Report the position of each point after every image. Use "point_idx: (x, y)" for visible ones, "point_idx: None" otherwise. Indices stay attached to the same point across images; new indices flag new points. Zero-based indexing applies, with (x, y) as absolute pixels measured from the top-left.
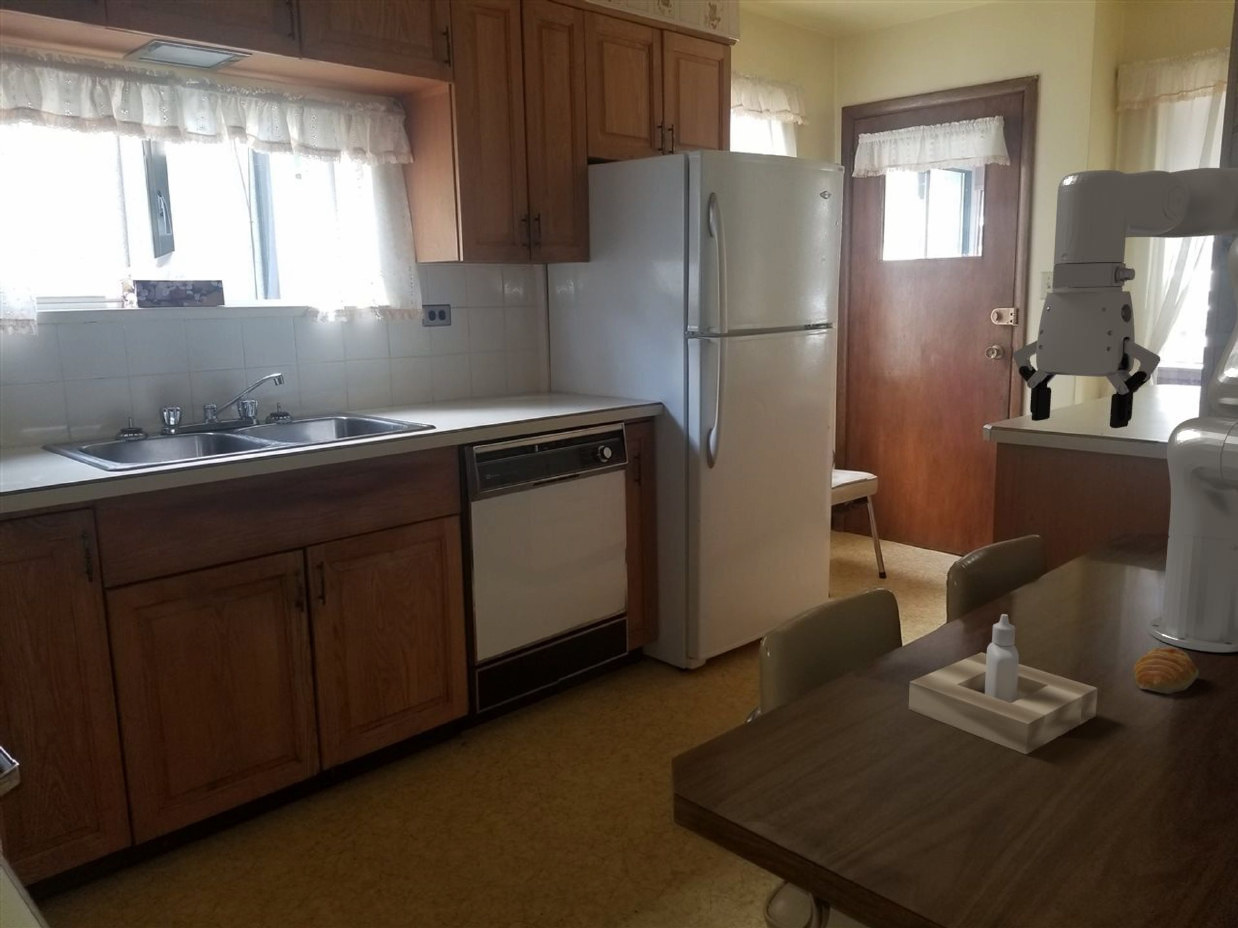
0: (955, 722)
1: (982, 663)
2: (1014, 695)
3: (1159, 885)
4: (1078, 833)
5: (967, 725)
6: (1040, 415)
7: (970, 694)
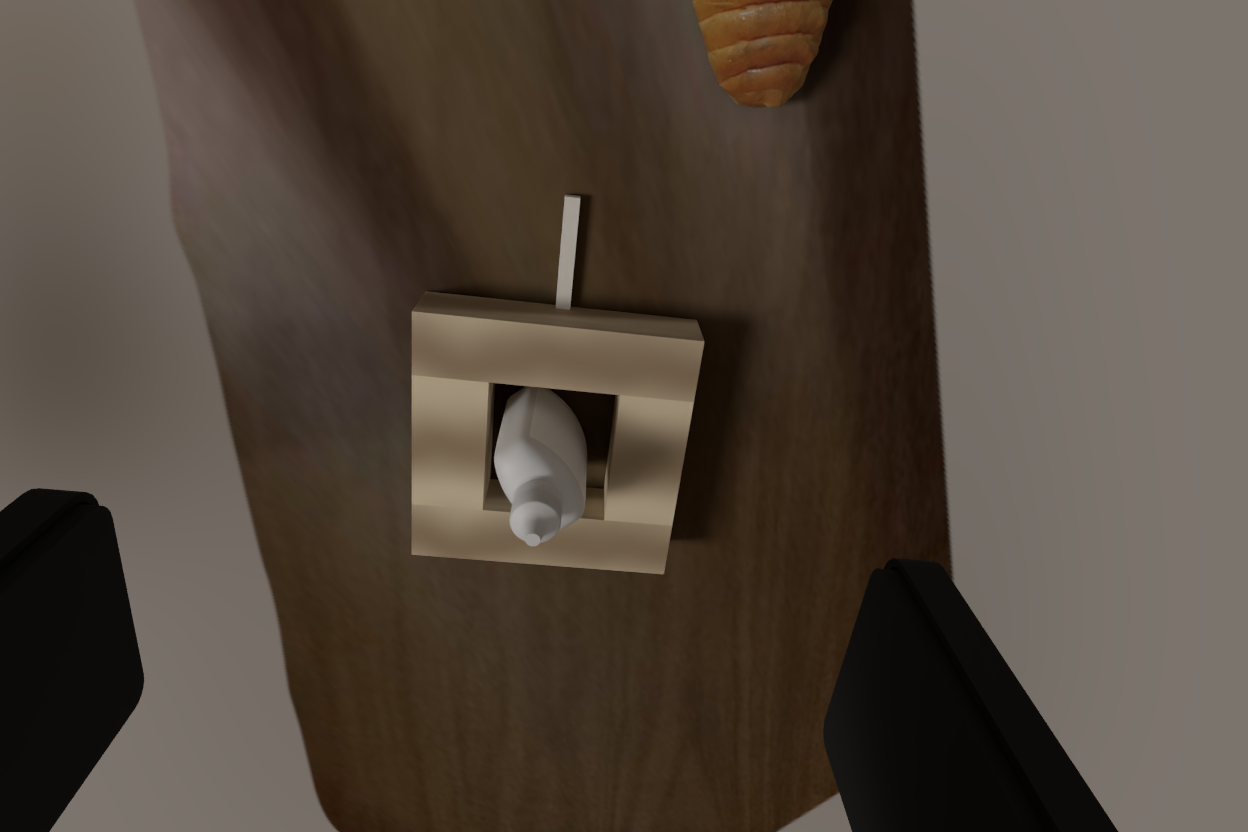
0: None
1: (455, 374)
2: (586, 470)
3: None
4: (794, 675)
5: None
6: (111, 679)
7: None
